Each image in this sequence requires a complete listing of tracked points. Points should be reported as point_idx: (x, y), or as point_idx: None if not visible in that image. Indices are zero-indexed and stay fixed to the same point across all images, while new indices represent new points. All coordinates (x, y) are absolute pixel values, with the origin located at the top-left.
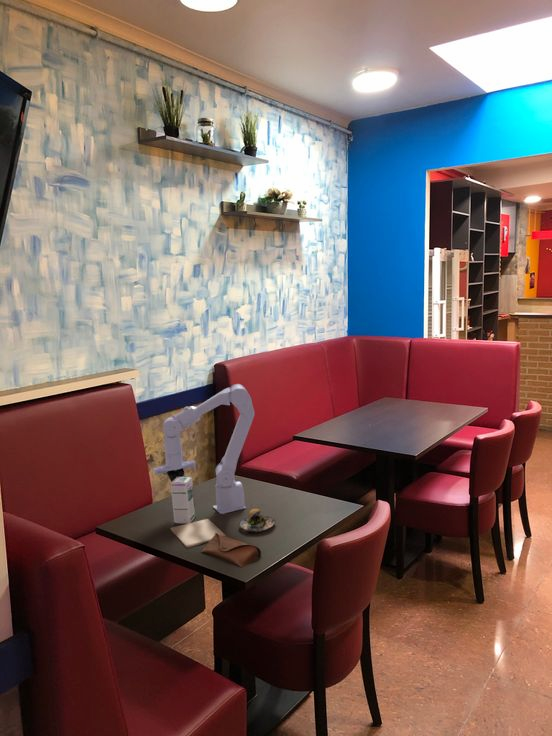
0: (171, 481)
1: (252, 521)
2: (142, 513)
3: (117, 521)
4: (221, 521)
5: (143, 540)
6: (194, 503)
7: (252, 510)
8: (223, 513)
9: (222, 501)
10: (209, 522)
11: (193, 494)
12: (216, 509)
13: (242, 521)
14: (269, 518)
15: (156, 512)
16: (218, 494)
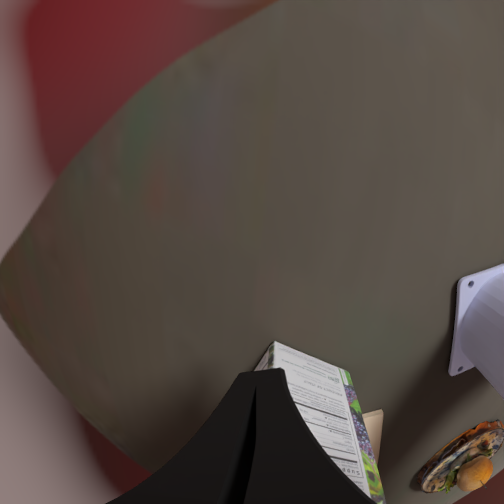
0: (193, 450)
1: (451, 485)
2: (76, 204)
3: (8, 259)
4: (416, 424)
5: (128, 450)
6: (363, 423)
7: (474, 487)
8: (456, 372)
9: (489, 382)
10: (373, 439)
11: (374, 470)
12: (456, 332)
13: (450, 454)
14: (501, 437)
15: (141, 218)
16: (502, 392)
